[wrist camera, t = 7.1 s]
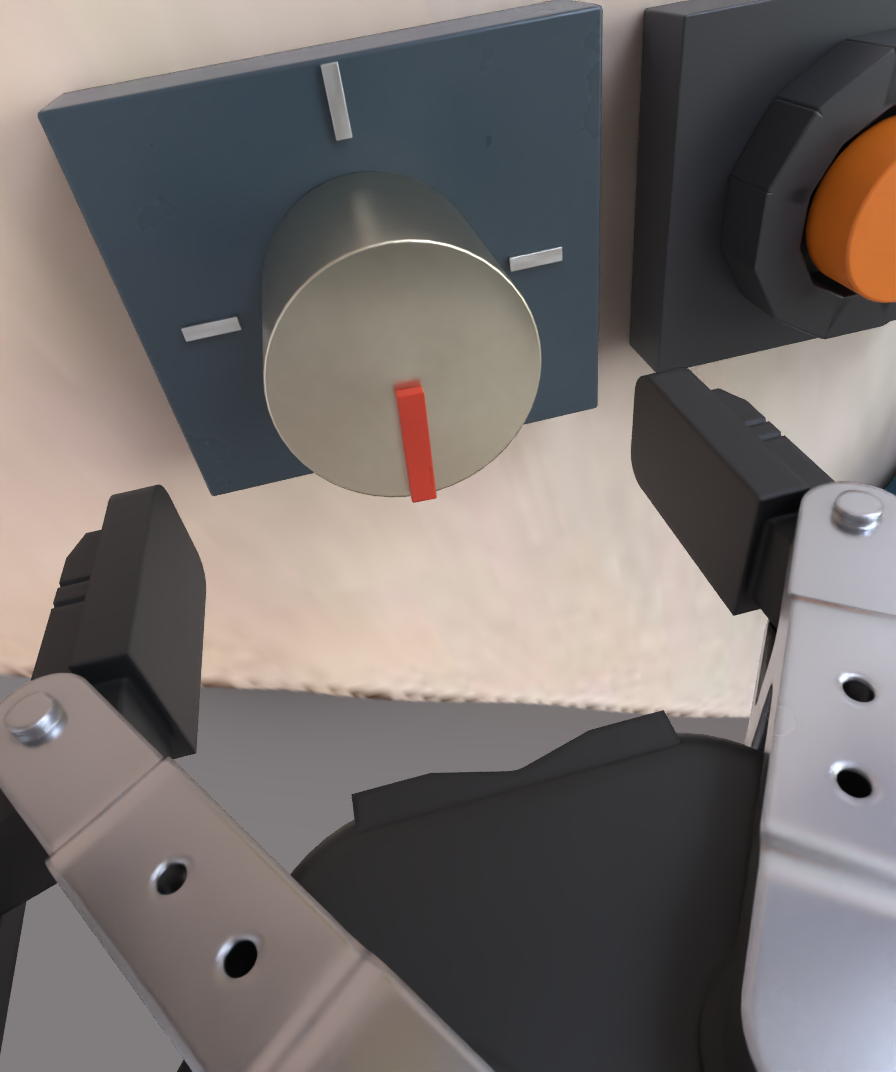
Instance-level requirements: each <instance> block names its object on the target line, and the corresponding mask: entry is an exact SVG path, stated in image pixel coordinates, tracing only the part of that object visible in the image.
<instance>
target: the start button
mask: <svg viewBox="0 0 896 1072" xmlns="http://www.w3.org/2000/svg"><path fill="white" fill-rule="evenodd" d="M806 245H807V249H808V253H809V256H810V258H811V260H812V262H813V264H814V265H815V266H816V268H817V269H818V270H819V271H820V272H821V273H823V274H824V275H826V276H828V277H829V278H831V279H833V280H835V281H836V282H838V283H840V284H842V285H843V286H845V287H847V288H849V289H850V290H852V291H854V292H855V293H857V294H859V295H861V296H862V297H864V298H866V299H868V300H871V301H874V302H881V303H891V302H896V115H894V116H891V117H889V118H887V119H884V120H882V121H880V122H878V123H877V124H875V125H873V126H871V127H870V128H869V129H867V130H866V131H864V132H863V133H861V134H860V135H859V136H858V137H857V138H856V139H854V140H853V141H852V142H851V143H850V144H849V145H848V146H847V147H846V148H845V149H844V150H843V151H842V152H841V153H840V155H839V156H838V157H837V158H836V159H835V161H834V162H833V163H832V165H831V166H830V168H829V169H828V170H827V172H826V173H825V175H824V177H823V179H822V180H821V182H820V184H819V186H818V188H817V190H816V192H815V194H814V197H813V200H812V202H811V205H810V209H809V212H808V216H807V223H806Z"/></svg>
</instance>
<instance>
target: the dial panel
mask: <svg viewBox="0 0 896 1072" xmlns="http://www.w3.org/2000/svg"><path fill="white" fill-rule="evenodd" d="M602 15H603V10H602V6H600V5H596V4H590V3H584V2H579V1H573V0H554V1H549V2H544V3H538V4H533V5H528V6H522V7H517V8H512V9H506V10H501V11H496V12H491V13H485V14H480V15H475V16H469V17H464V18H459V19H454V20H448V21H443V22H438V23H432V24H427V25H422V26H416V27H411V28H406V29H401V30H395V31H390V32H385V33H379V34H374V35H369V36H363V37H358V38H353V39H348V40H342V41H337V42H332V43H326V44H321V45H316V46H311V47H305V48H300V49H295V50H289V51H284V52H279V53H273V54H268V55H263V56H258V57H252V58H247V59H242V60H236V61H231V62H226V63H220V64H215V65H210V66H205V67H199V68H194V69H189V70H183V71H178V72H173V73H168V74H162V75H157V76H152V77H146V78H141V79H136V80H130V81H125V82H120V83H115V84H109V85H104V86H99V87H93V88H88V89H83V90H77V91H72V92H67V93H63V94H62V95H61V96H59V97H58V98H57V99H55V100H54V101H53V102H52V103H50V104H49V105H48V106H46V107H45V108H44V109H42V110H41V111H40V112H38V118H39V121H40V123H41V125H42V127H43V129H44V132H45V134H46V136H47V138H48V140H49V142H50V145H51V147H52V149H53V151H54V153H55V156H56V158H57V160H58V162H59V164H60V166H61V169H62V171H63V173H64V175H65V177H66V179H67V182H68V184H69V186H70V188H71V190H72V193H73V195H74V197H75V199H76V201H77V203H78V206H79V208H80V210H81V212H82V214H83V217H84V219H85V221H86V223H87V225H88V227H89V230H90V232H91V234H92V236H93V238H94V241H95V243H96V245H97V247H98V249H99V251H100V254H101V256H102V258H103V260H104V262H105V264H106V267H107V269H108V271H109V273H110V275H111V278H112V280H113V282H114V284H115V286H116V288H117V291H118V293H119V295H120V297H121V299H122V302H123V304H124V306H125V308H126V310H127V312H128V315H129V317H130V319H131V321H132V323H133V325H134V328H135V330H136V332H137V334H138V336H139V339H140V341H141V343H142V345H143V347H144V349H145V352H146V354H147V356H148V358H149V360H150V363H151V365H152V367H153V369H154V371H155V373H156V376H157V378H158V380H159V382H160V384H161V387H162V389H163V391H164V393H165V395H166V397H167V400H168V402H169V404H170V406H171V408H172V410H173V413H174V415H175V417H176V419H177V421H178V424H179V426H180V428H181V430H182V432H183V434H184V437H185V439H186V441H187V443H188V445H189V448H190V450H191V452H192V454H193V456H194V458H195V461H196V463H197V465H198V467H199V469H200V471H201V474H202V476H203V478H204V480H205V482H206V485H207V487H208V489H209V491H210V493H211V495H212V496H217V495H221V494H225V493H230V492H234V491H238V490H243V489H247V488H251V487H256V486H260V485H264V484H269V483H273V482H277V481H281V480H286V479H290V478H294V477H299V476H303V475H307V474H312V473H314V472H313V471H312V470H310V469H309V468H308V467H306V466H305V465H304V464H303V463H302V462H301V461H300V460H299V459H298V458H297V457H296V456H295V455H294V454H293V453H292V452H291V451H290V450H289V448H288V447H287V446H286V444H285V443H284V442H283V440H282V439H281V437H280V435H279V433H278V432H277V430H276V428H275V426H274V424H273V421H272V419H271V416H270V413H269V411H268V408H267V403H266V398H265V394H264V382H263V331H262V274H263V265H264V260H265V256H266V251H267V249H268V246H269V243H270V241H271V238H272V236H273V234H274V232H275V230H276V228H277V226H278V225H279V223H280V222H281V220H282V219H283V218H284V216H285V215H286V213H287V212H288V211H289V210H290V209H291V208H292V207H293V206H294V205H295V204H296V203H297V202H298V201H299V200H300V199H301V198H302V197H303V196H305V195H306V194H307V193H309V192H310V191H311V190H313V189H314V188H316V187H318V186H320V185H322V184H323V183H325V182H327V181H330V180H332V179H335V178H338V177H340V176H344V175H348V174H353V173H357V172H370V171H378V172H390V173H395V174H399V175H404V176H407V177H410V178H412V179H415V180H418V181H420V182H422V183H424V184H426V185H427V186H429V187H431V188H433V189H434V190H436V191H437V192H438V193H440V194H441V195H442V196H444V197H445V198H446V199H447V200H448V201H449V202H450V203H451V204H452V205H453V206H454V207H455V208H456V209H457V210H458V211H459V213H460V214H461V215H462V217H463V218H464V219H465V220H466V222H467V223H468V224H469V226H470V227H471V228H472V230H473V231H474V232H475V234H476V235H477V236H478V238H479V239H480V240H481V241H482V243H483V244H484V245H485V247H486V248H487V249H488V251H489V252H490V253H491V255H492V256H493V257H494V259H495V260H496V261H497V263H498V264H499V265H500V266H501V268H502V269H503V270H504V272H505V273H506V274H507V276H508V277H509V278H510V280H511V281H512V282H513V284H514V285H515V286H516V288H517V289H518V290H519V291H520V293H521V294H522V295H523V297H524V299H525V301H526V303H527V304H528V306H529V308H530V310H531V312H532V315H533V317H534V320H535V323H536V326H537V329H538V334H539V339H540V344H541V359H542V360H541V374H540V380H539V385H538V390H537V394H536V397H535V400H534V403H533V405H532V408H531V410H530V412H529V414H528V416H527V418H526V420H525V422H524V424H528V423H532V422H537V421H541V420H545V419H550V418H554V417H558V416H563V415H567V414H571V413H576V412H580V411H584V410H588V409H593V408H596V407H597V405H598V331H599V252H600V173H601V94H602ZM524 424H523V425H524Z"/></svg>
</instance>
